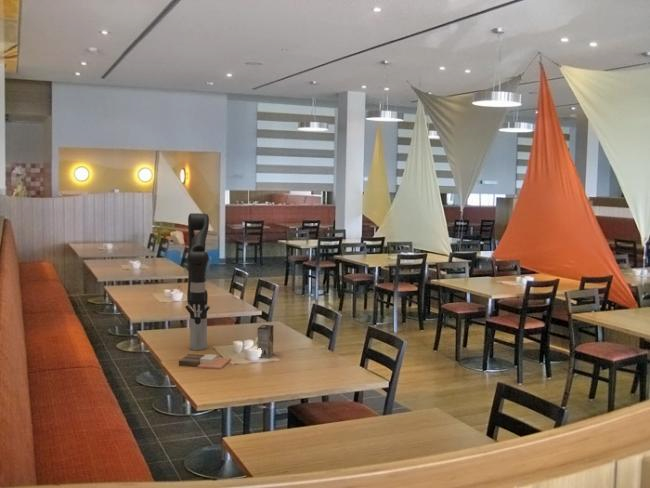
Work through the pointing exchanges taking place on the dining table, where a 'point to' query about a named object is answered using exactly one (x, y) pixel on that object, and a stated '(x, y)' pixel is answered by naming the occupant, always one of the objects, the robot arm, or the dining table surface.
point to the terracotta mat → (216, 364)
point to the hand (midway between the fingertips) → (197, 324)
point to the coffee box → (265, 340)
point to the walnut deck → (190, 360)
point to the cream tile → (208, 359)
